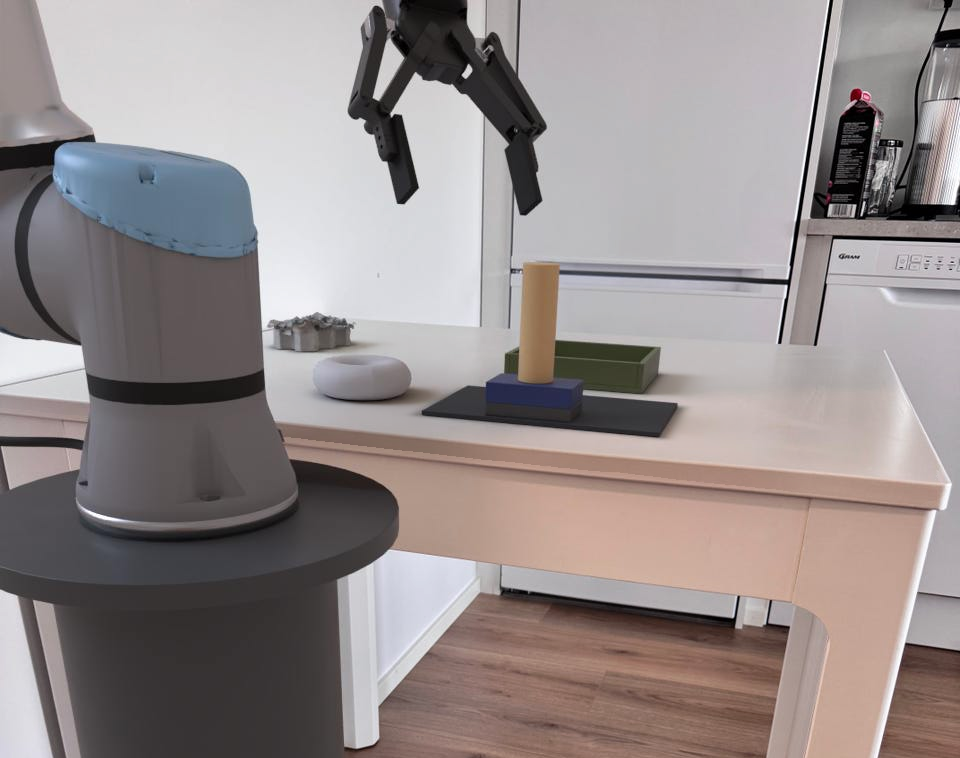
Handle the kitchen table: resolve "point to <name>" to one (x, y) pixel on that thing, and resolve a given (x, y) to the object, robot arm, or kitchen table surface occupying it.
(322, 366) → the donut
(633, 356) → the tray
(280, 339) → the egg carton
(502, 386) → the brush
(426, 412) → the mat
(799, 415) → the kitchen table surface
